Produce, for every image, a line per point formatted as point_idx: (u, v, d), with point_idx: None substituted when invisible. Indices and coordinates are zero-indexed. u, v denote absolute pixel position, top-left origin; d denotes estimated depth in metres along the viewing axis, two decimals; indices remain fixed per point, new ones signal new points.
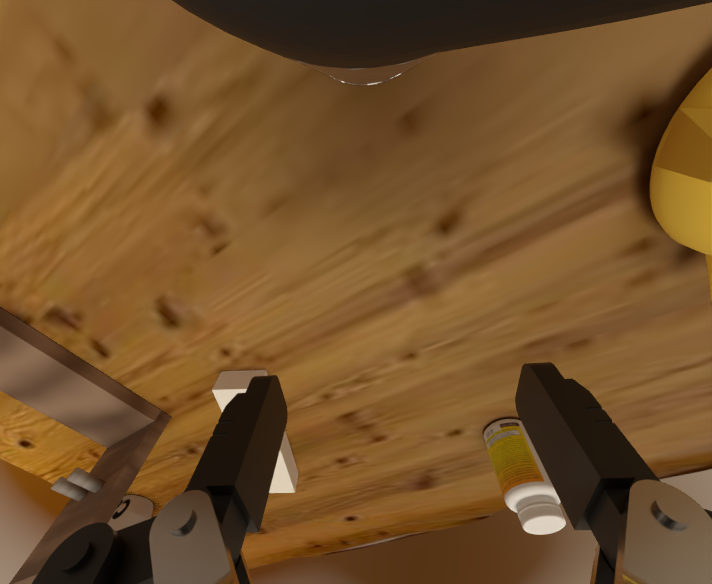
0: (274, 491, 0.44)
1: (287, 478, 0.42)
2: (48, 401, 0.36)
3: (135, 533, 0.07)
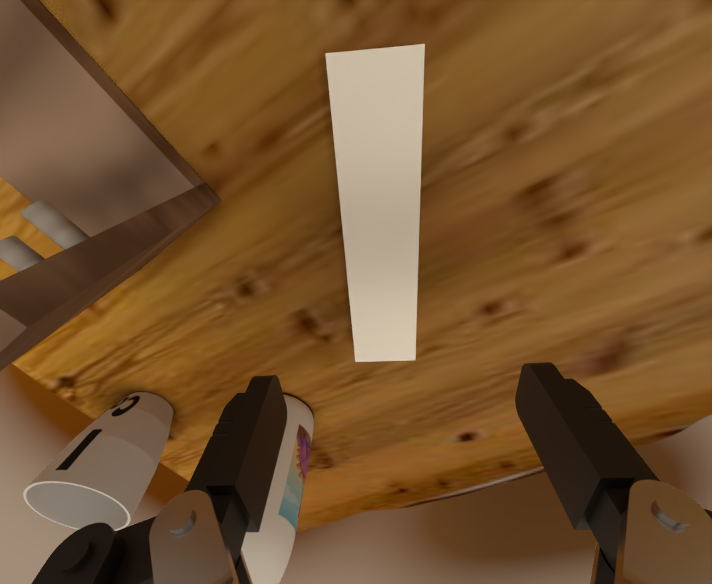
0: (381, 358, 0.26)
1: (411, 325, 0.25)
2: (1, 133, 0.20)
3: (136, 533, 0.07)
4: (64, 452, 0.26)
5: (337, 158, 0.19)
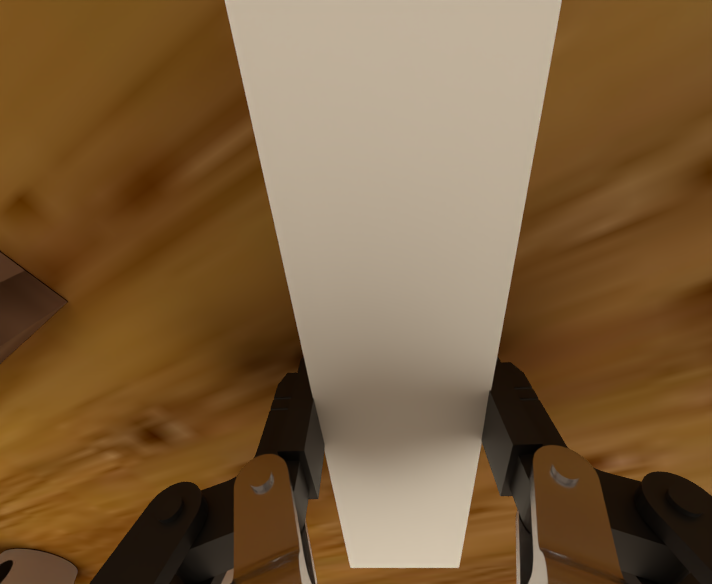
0: (396, 564, 0.15)
1: (456, 529, 0.13)
2: None
3: (215, 493, 0.07)
4: None
5: (285, 253, 0.07)
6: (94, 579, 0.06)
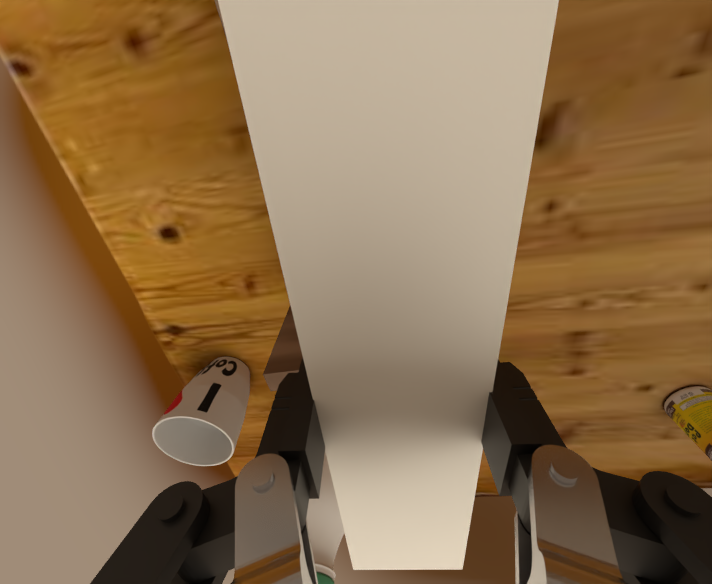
0: (399, 566, 0.15)
1: (458, 531, 0.13)
2: None
3: (217, 493, 0.07)
4: (195, 396, 0.32)
5: (283, 257, 0.07)
6: (95, 578, 0.06)
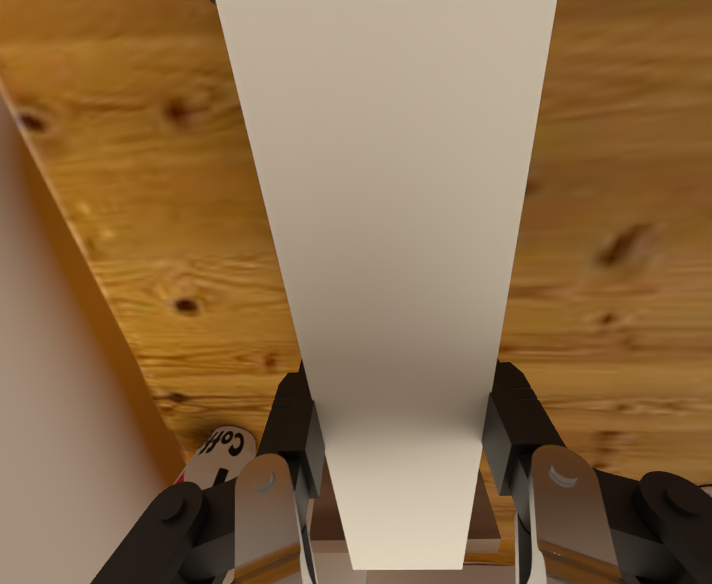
0: (399, 566, 0.15)
1: (458, 531, 0.13)
2: None
3: (217, 493, 0.07)
4: None
5: (282, 256, 0.07)
6: (95, 578, 0.06)
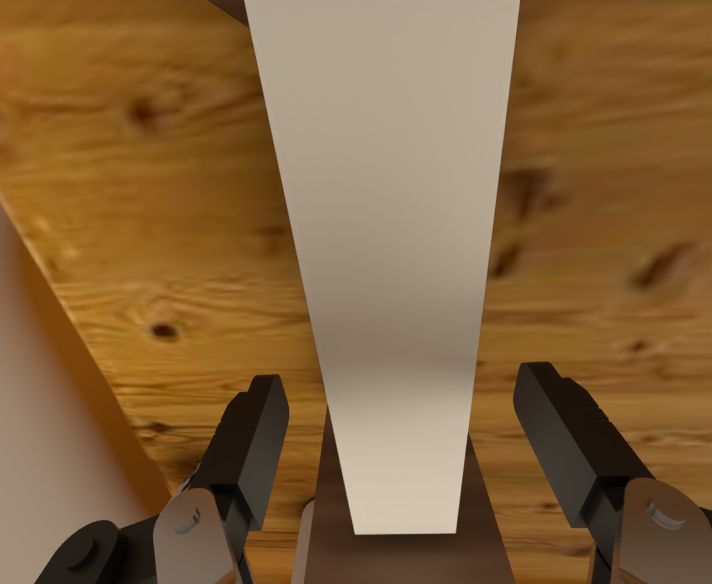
0: (397, 530, 0.16)
1: (451, 493, 0.14)
2: None
3: (139, 530, 0.07)
4: None
5: (296, 232, 0.08)
6: None
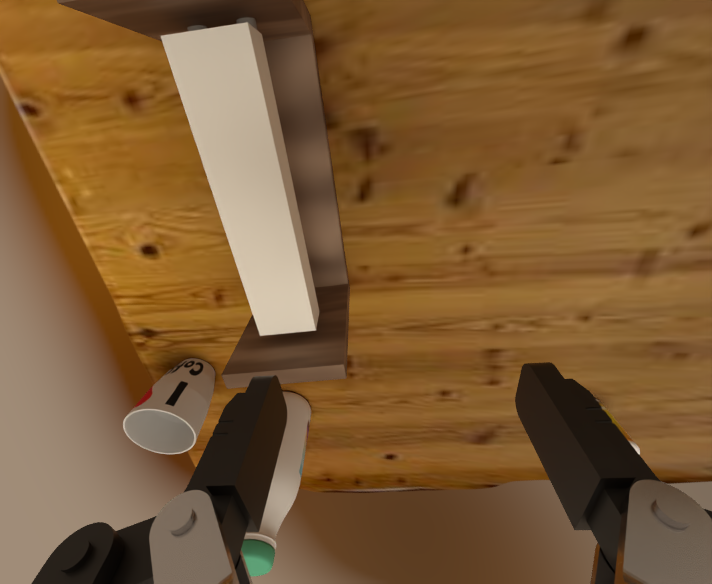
0: (283, 330, 0.28)
1: (303, 295, 0.26)
2: None
3: (136, 532, 0.07)
4: (164, 392, 0.37)
5: (194, 134, 0.20)
6: None
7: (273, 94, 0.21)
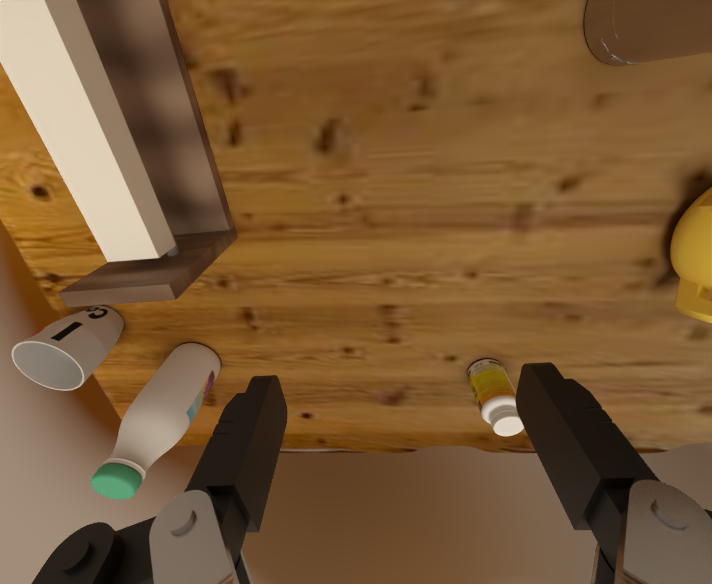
0: (128, 256, 0.29)
1: (137, 219, 0.27)
2: (139, 155, 0.34)
3: (135, 532, 0.07)
4: (53, 328, 0.39)
5: None
6: None
7: (79, 13, 0.23)
